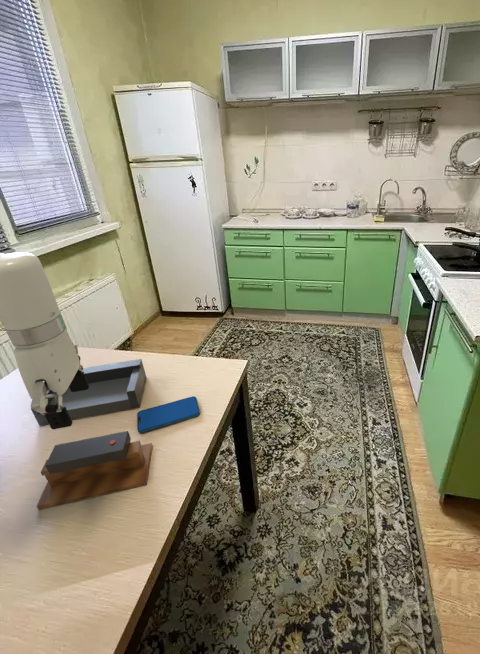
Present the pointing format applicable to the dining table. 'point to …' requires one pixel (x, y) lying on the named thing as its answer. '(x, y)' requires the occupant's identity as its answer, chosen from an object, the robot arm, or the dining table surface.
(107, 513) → the dining table surface
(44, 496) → the stepped wooden stand
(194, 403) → the smartphone
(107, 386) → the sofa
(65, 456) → the remote
